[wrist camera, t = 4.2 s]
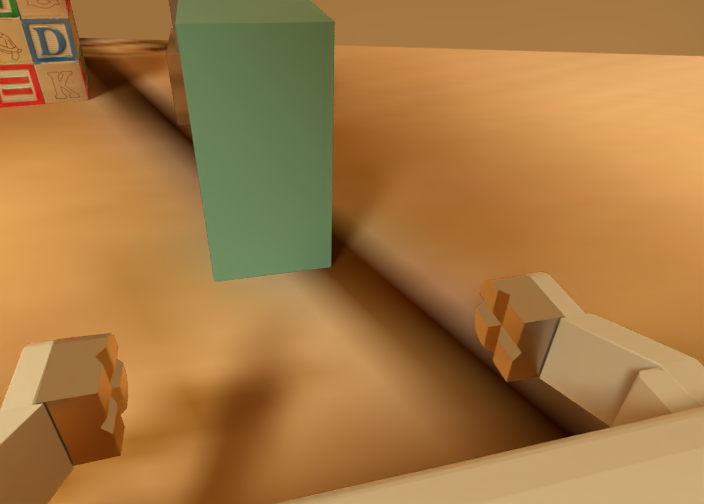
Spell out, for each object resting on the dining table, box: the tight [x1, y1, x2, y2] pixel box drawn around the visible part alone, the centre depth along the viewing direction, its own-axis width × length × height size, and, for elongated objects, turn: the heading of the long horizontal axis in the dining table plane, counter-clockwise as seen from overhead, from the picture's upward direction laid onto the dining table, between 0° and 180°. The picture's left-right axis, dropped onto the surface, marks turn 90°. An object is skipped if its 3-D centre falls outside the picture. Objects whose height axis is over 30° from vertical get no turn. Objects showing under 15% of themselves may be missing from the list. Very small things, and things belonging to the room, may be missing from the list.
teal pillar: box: [175, 0, 334, 282], centre depth 21 cm, size 5×5×10 cm
